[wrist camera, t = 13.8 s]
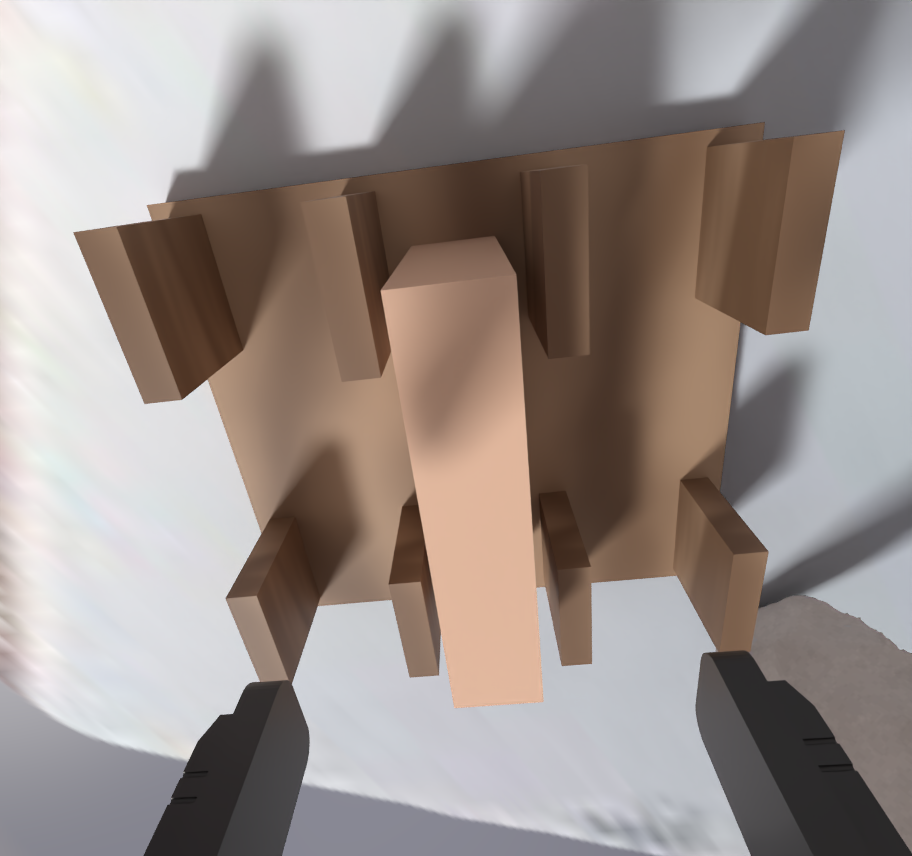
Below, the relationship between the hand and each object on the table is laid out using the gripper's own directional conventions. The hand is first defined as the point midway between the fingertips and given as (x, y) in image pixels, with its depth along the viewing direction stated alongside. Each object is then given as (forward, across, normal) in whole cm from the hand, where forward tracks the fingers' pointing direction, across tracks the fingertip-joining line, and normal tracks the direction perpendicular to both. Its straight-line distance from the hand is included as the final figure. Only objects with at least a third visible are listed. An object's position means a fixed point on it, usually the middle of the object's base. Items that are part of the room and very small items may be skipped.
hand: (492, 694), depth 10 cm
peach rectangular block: (+13, 0, 0) cm, 13 cm away
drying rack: (+14, 0, 0) cm, 14 cm away
